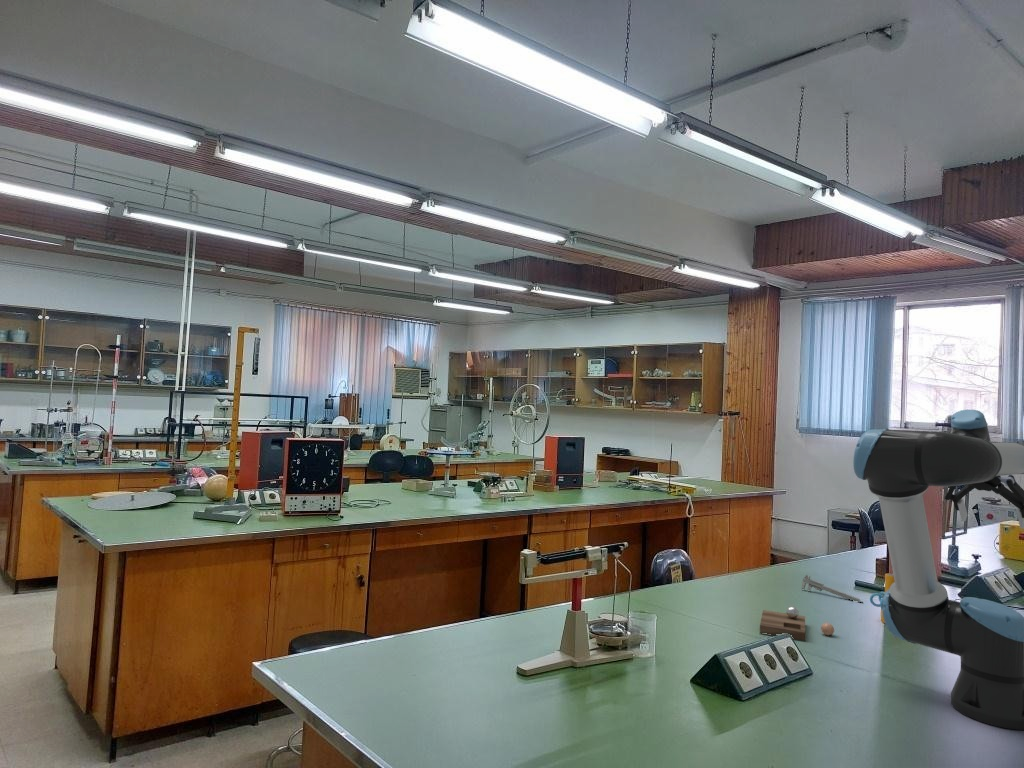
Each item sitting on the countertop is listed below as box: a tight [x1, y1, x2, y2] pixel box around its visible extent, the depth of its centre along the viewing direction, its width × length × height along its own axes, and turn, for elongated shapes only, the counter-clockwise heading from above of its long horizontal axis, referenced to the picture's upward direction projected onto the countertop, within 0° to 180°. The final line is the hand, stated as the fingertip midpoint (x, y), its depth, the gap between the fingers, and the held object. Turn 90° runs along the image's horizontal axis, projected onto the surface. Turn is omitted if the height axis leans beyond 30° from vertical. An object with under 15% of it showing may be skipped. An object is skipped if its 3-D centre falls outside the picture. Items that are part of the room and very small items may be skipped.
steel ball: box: [785, 605, 800, 618], centre depth 192 cm, size 4×4×4 cm
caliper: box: [801, 574, 863, 603], centre depth 228 cm, size 20×1×6 cm, turn 47°
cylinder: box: [869, 572, 895, 624], centre depth 200 cm, size 12×10×15 cm
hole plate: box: [759, 609, 806, 642], centre depth 189 cm, size 16×12×2 cm
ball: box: [820, 622, 835, 637], centre depth 185 cm, size 4×4×4 cm
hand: (993, 522), depth 179 cm, fingers open, 13 cm apart
